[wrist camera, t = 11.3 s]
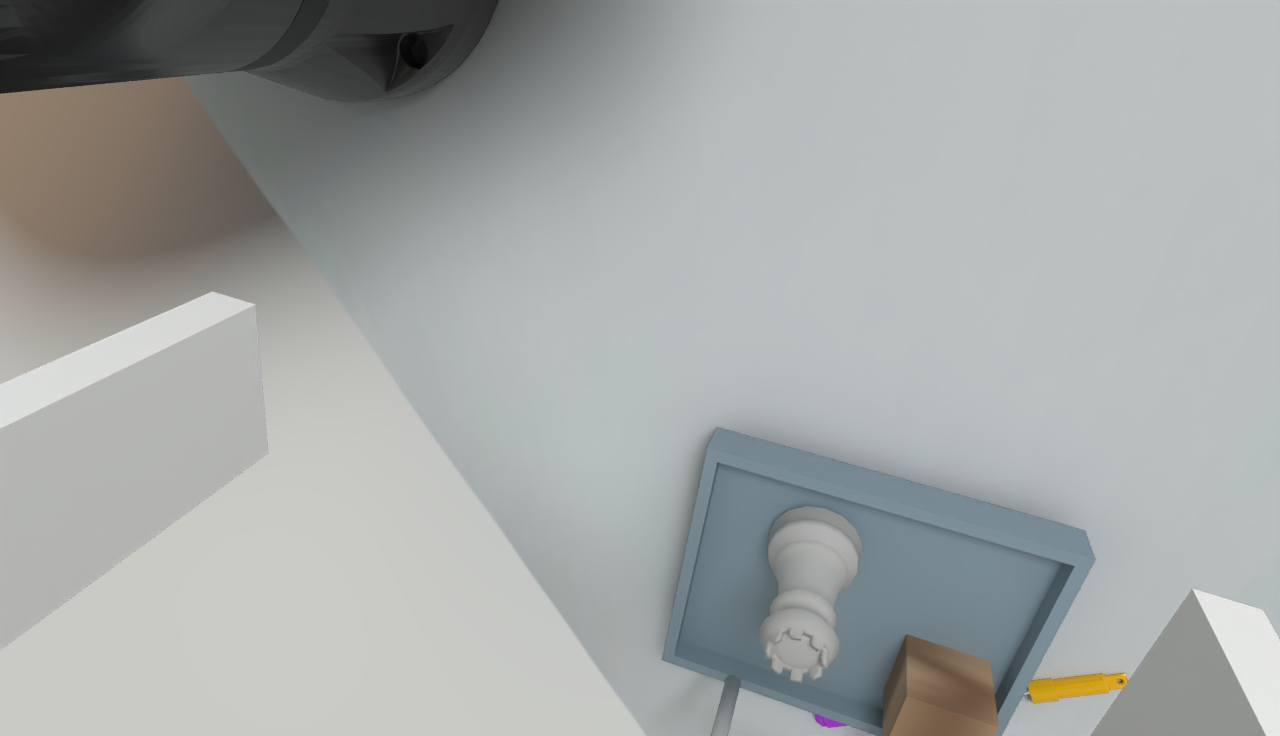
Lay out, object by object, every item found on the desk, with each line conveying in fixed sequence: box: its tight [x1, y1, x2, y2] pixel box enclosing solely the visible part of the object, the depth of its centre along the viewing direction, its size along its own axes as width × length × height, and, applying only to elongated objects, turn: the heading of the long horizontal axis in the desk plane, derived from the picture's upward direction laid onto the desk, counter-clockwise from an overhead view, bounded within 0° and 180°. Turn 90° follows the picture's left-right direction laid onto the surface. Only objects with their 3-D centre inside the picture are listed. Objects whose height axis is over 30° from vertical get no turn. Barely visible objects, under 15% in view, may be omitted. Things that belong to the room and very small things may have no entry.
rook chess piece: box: [759, 506, 862, 683], centre depth 34 cm, size 4×4×8 cm
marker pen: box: [815, 673, 1128, 728], centre depth 41 cm, size 3×1×16 cm
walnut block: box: [882, 634, 999, 736], centre depth 37 cm, size 4×4×4 cm
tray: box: [662, 427, 1095, 736], centre depth 35 cm, size 14×17×10 cm
